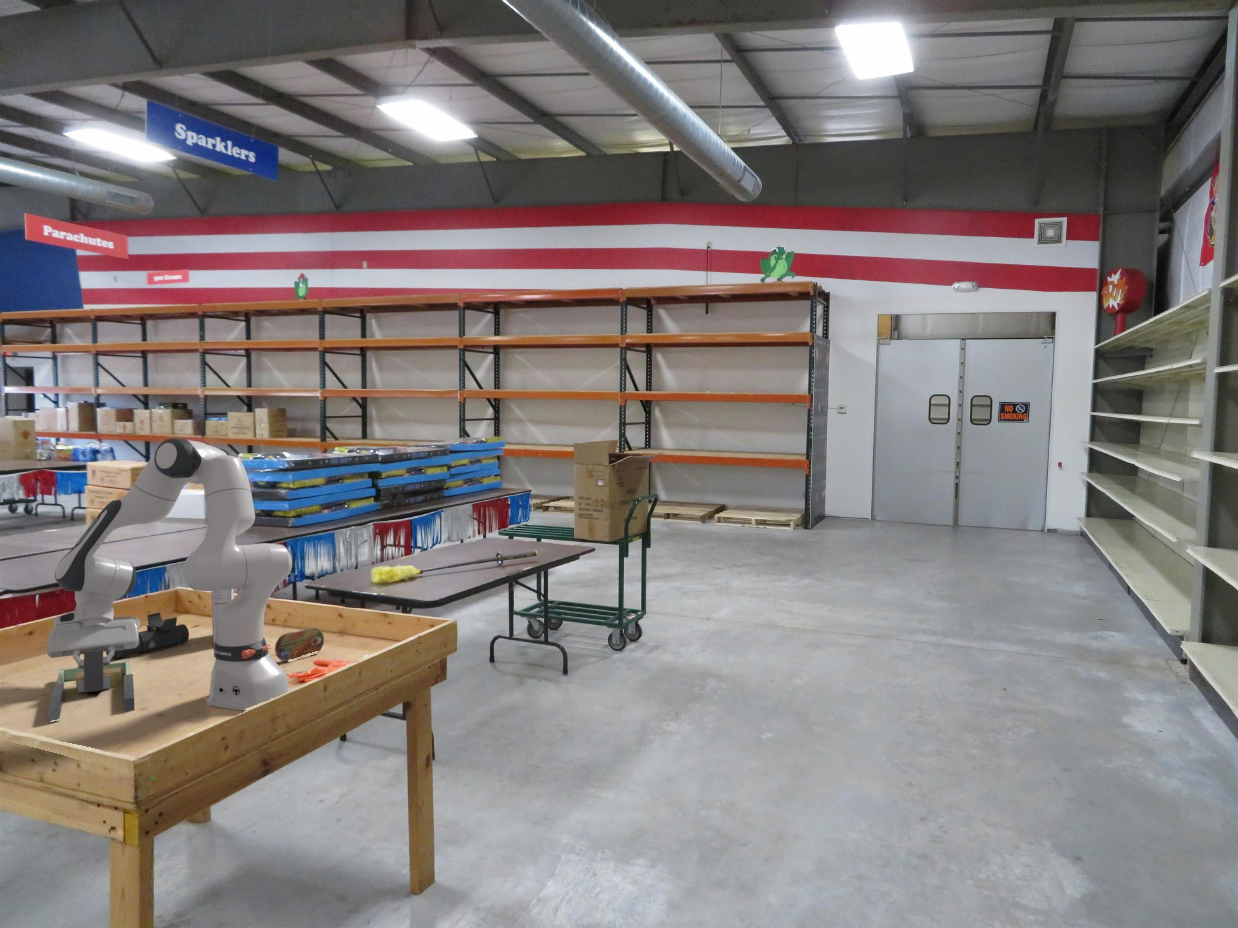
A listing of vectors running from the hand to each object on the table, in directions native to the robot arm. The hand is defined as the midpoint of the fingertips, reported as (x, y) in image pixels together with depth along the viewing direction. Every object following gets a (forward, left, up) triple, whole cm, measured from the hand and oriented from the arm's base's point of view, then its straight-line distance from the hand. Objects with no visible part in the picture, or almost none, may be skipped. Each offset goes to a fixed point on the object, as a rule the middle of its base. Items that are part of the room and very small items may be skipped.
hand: (94, 665), depth 205 cm
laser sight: (+20, -28, -7) cm, 35 cm away
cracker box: (+12, -46, -7) cm, 48 cm away
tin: (-23, -45, -7) cm, 52 cm away
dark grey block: (-3, +2, -5) cm, 7 cm away
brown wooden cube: (0, -4, -6) cm, 8 cm away
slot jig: (-9, +5, -6) cm, 12 cm away
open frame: (+5, -3, -6) cm, 9 cm away
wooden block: (+3, 0, -6) cm, 7 cm away
